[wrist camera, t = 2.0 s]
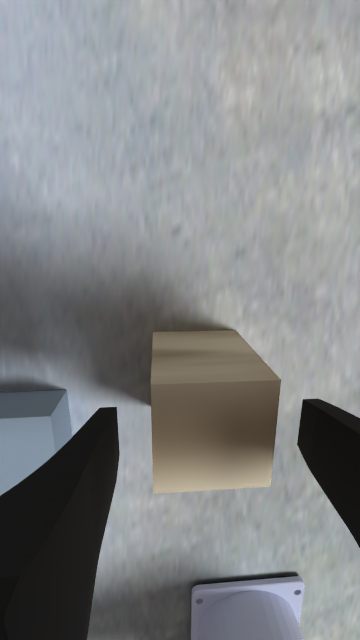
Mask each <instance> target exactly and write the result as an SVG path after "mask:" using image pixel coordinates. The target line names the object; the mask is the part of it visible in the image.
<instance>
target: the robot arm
mask: <svg viewBox="0 0 360 640" xmlns="http://www.w3.org/2000/svg"><path fill="white" fill-rule="evenodd" d="M297 445H298V447H299V449H300V451H301V453H302V455H303V458H304V460H305V462H306V464H307V465H308V467H309V469H310V471H311V472H312V474H313V476H314V477H315V479H316V480H317V482H318V483H319V485H320V486H321V488H322V490H323V491H324V493H325V494H326V496H327V497H328V499H329V500H330V502H331V503H332V505H333V506H334V508H335V509H336V511H337V512H338V514H339V515H340V517H341V518H342V520H343V521H344V523H345V524H346V526H347V527H348V529H349V530H350V532H351V534H352V535H353V537H354V539H355V540H356V542H357V544H358V546H359V547H360V418H358V417H356V416H354V415H352V414H350V413H348V412H346V411H344V410H342V409H340V408H338V407H336V406H334V405H332V404H329V403H327V402H325V401H322V400H320V399H303V403H302V411H301V419H300V427H299V435H298V443H297ZM118 462H119V439H118V423H117V407H106V408H99V409H98V410H97V411H96V412H95V413H94V414H93V416H92V417H91V418H90V419H89V420H88V421H87V422H86V423H85V424H84V425H83V426H82V428H81V429H80V430H79V431H78V432H77V433H76V434H75V435H74V436H73V437H72V438H71V439H70V440H69V441H68V442H67V443H66V444H65V445H64V446H63V447H62V448H61V449H60V450H58V451H57V452H56V453H55V454H54V455H53V456H52V457H51V458H50V459H49V460H47V461H46V462H45V463H44V464H43V465H42V466H40V467H39V468H38V469H37V470H35V471H34V472H33V473H31V474H30V475H29V476H28V477H26V478H25V479H24V480H22V481H21V482H20V483H18V484H17V485H15V486H14V487H12V488H11V489H9V490H8V491H6V492H5V493H3V494H2V495H1V496H0V640H87V634H88V627H89V620H90V613H91V605H92V598H93V592H94V585H95V578H96V571H97V564H98V559H99V554H100V549H101V544H102V540H103V536H104V531H105V527H106V523H107V519H108V514H109V510H110V506H111V502H112V497H113V493H114V489H115V484H116V479H117V471H118ZM304 589H305V584H304V581H303V579H302V578H301V577H299V576H294V577H282V578H271V579H259V580H248V581H236V582H225V583H213V584H202V585H196V586H194V587H193V588H192V594H191V640H304V638H303V635H302V632H301V630H300V627H299V622H300V615H301V608H302V602H303V595H304Z"/></svg>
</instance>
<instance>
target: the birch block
mask: <svg viewBox="0 0 360 640" xmlns="http://www.w3.org/2000/svg"><path fill="white" fill-rule="evenodd" d="M280 385H281V379H280V378H279V377H278V376H277V375H276V374H275V373H274V372H273V371H272V370H271V368H270V367H269V366H268V365H267V364H266V363H265V362H264V361H263V360H262V359H261V357H260V356H259V355H258V354H257V353H256V352H255V351H254V350H253V349H252V348H251V346H250V345H249V344H248V343H247V342H246V341H245V340H244V339H243V338H242V337H241V335H240V334H239V333H238V332H237V331H236V330H223V331H176V332H153V341H152V364H151V417H152V454H153V491H154V494H157V493H173V492H189V491H205V490H221V489H237V488H252V487H268V486H270V485H271V475H272V465H273V455H274V445H275V435H276V425H277V415H278V405H279V395H280Z"/></svg>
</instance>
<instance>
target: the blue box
mask: <svg viewBox="0 0 360 640" xmlns="http://www.w3.org/2000/svg"><path fill="white" fill-rule="evenodd" d="M71 438H72V430H71V421H70V412H69V404H68V395H67V390H52V391H28V392H3V393H0V496H1V495H2V494H3V493H5V492H6V491H8V490H9V489H11V488H12V487H14V486H15V485H17V484H18V483H20V482H21V481H22V480H24V479H25V478H26V477H28V476H29V475H30V474H31V473H33V472H34V471H35V470H37V469H38V468H39V467H40V466H42V465H43V464H44V463H45V462H46V461H47V460H49V459H50V458H51V457H52V456H53V455H54V454H55V453H56V452H57V451H58V450H60V449H61V448H62V447H63V446H64V445H65V444H66V443H67V442H68V441H69V440H70V439H71Z"/></svg>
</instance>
